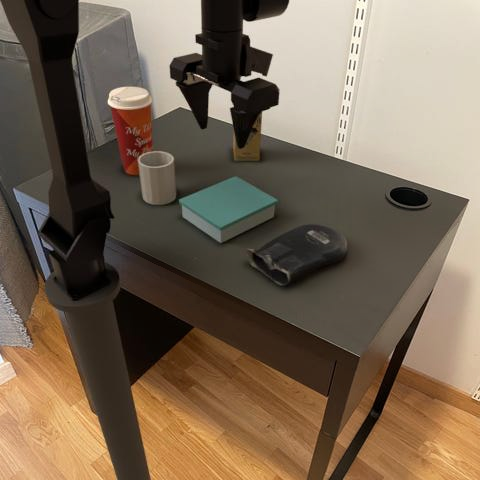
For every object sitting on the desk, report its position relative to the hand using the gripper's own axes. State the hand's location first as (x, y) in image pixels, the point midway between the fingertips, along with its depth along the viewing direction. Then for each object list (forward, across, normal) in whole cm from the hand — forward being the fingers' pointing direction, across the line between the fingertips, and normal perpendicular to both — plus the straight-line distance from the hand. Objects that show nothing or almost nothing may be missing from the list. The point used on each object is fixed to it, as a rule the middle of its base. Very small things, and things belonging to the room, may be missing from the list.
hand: (222, 138), depth 77 cm
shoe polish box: (+12, +11, -16) cm, 23 cm away
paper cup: (+12, +20, +4) cm, 23 cm away
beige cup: (+12, +9, +7) cm, 16 cm away
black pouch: (+12, -20, +1) cm, 23 cm away
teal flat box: (+12, -4, +2) cm, 13 cm away
